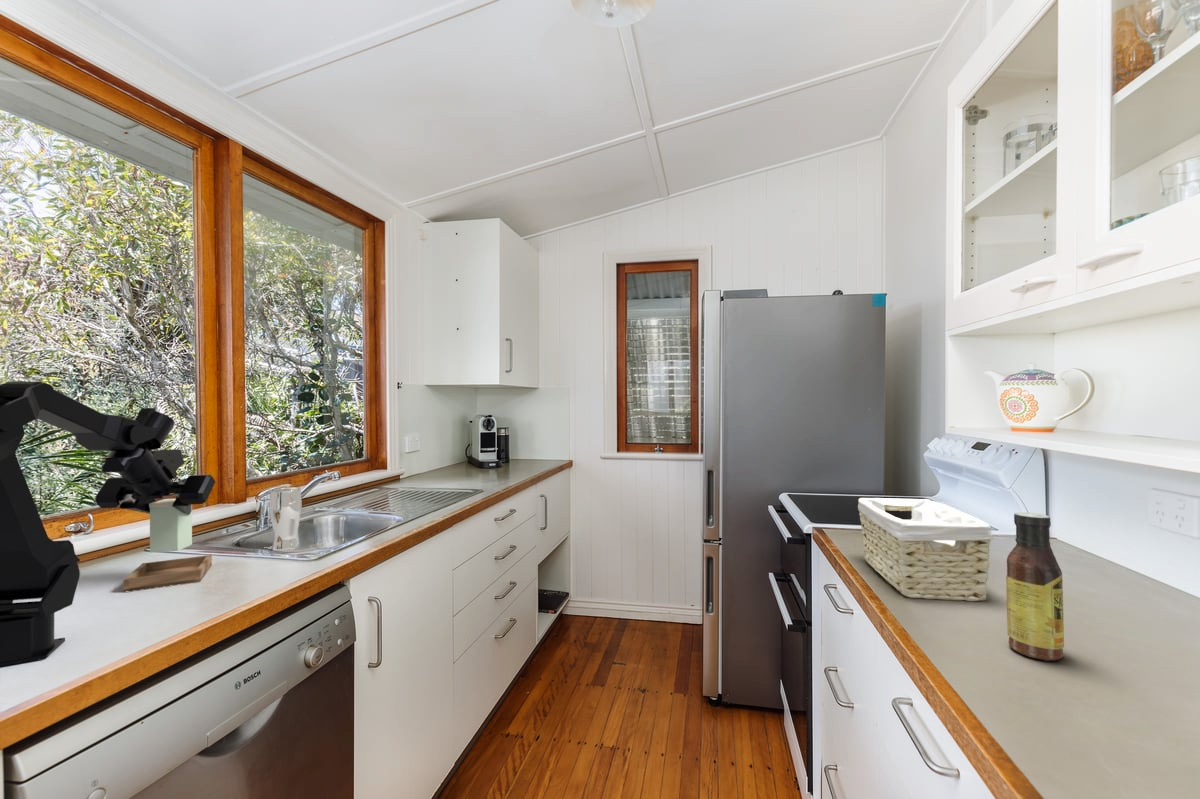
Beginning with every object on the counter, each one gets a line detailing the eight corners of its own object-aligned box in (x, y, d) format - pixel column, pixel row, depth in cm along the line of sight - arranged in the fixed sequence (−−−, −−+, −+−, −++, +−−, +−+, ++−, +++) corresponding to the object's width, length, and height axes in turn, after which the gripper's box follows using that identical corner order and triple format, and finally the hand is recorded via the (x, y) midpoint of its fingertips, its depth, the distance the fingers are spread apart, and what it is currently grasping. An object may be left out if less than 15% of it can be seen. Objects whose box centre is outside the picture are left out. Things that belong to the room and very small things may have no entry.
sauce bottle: (1069, 667, 69) (1067, 522, 69) (1010, 655, 72) (1009, 516, 72) (1058, 647, 74) (1056, 513, 74) (1004, 637, 78) (1002, 508, 78)
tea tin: (177, 550, 105) (177, 502, 105) (148, 552, 104) (149, 503, 104) (192, 544, 110) (192, 497, 110) (165, 545, 109) (165, 499, 109)
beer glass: (286, 552, 125) (286, 492, 125) (262, 551, 126) (262, 491, 126) (308, 544, 132) (308, 487, 132) (285, 543, 133) (285, 486, 133)
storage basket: (998, 606, 90) (997, 523, 90) (899, 601, 92) (898, 520, 92) (932, 564, 113) (932, 498, 113) (855, 560, 116) (855, 496, 116)
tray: (200, 581, 105) (200, 570, 105) (123, 592, 99) (123, 580, 99) (211, 565, 115) (211, 554, 115) (142, 574, 109) (142, 563, 109)
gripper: (210, 436, 105) (237, 481, 116) (105, 438, 102) (143, 484, 112) (187, 479, 97) (218, 523, 108) (73, 483, 94) (117, 528, 104)
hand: (175, 513), depth 108 cm, fingers closed on tea tin, 5 cm apart
